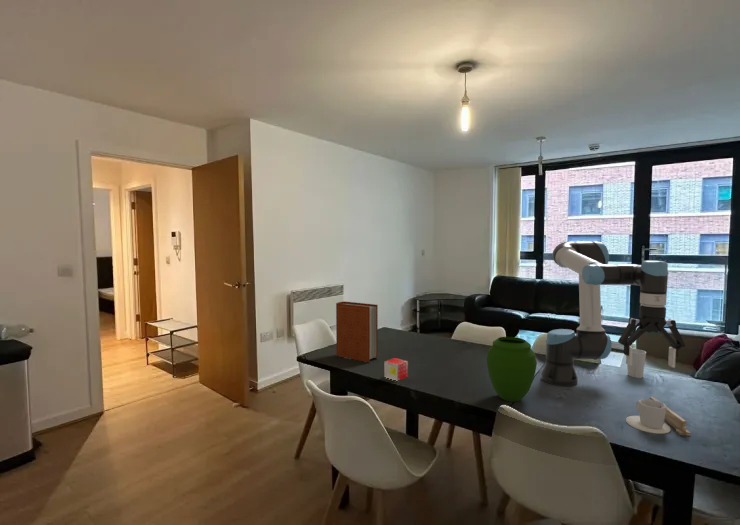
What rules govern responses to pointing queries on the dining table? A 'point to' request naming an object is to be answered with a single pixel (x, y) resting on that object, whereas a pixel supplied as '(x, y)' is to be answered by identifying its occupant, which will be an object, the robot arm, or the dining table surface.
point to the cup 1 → (637, 363)
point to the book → (357, 330)
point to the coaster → (637, 424)
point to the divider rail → (675, 421)
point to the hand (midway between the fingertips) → (650, 365)
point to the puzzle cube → (396, 369)
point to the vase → (511, 367)
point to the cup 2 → (651, 413)
